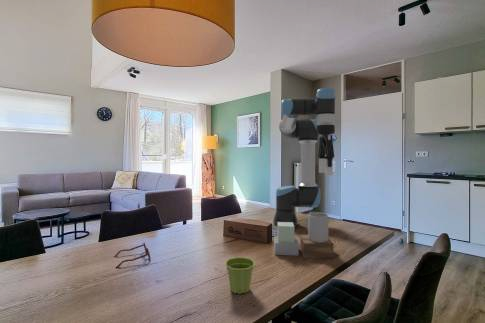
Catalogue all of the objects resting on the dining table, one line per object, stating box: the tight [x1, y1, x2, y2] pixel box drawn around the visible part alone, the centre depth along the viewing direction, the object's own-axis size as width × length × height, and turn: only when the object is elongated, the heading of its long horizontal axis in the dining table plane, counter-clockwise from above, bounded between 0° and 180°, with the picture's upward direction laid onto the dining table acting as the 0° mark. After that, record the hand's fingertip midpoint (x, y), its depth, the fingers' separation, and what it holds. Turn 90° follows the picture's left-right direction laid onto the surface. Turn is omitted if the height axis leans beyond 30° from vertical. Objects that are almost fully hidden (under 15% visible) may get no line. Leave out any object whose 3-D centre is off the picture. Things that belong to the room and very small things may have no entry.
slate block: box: [273, 235, 300, 256], centre depth 117 cm, size 10×10×5 cm
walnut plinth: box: [299, 234, 334, 259], centre depth 115 cm, size 12×12×6 cm
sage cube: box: [277, 222, 295, 243], centre depth 117 cm, size 7×7×7 cm
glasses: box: [113, 242, 151, 268], centre depth 109 cm, size 13×13×5 cm
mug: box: [305, 212, 329, 243], centre depth 115 cm, size 12×8×11 cm
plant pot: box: [225, 257, 256, 295], centre depth 83 cm, size 9×9×9 cm
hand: (325, 173), depth 113 cm, fingers open, 13 cm apart
